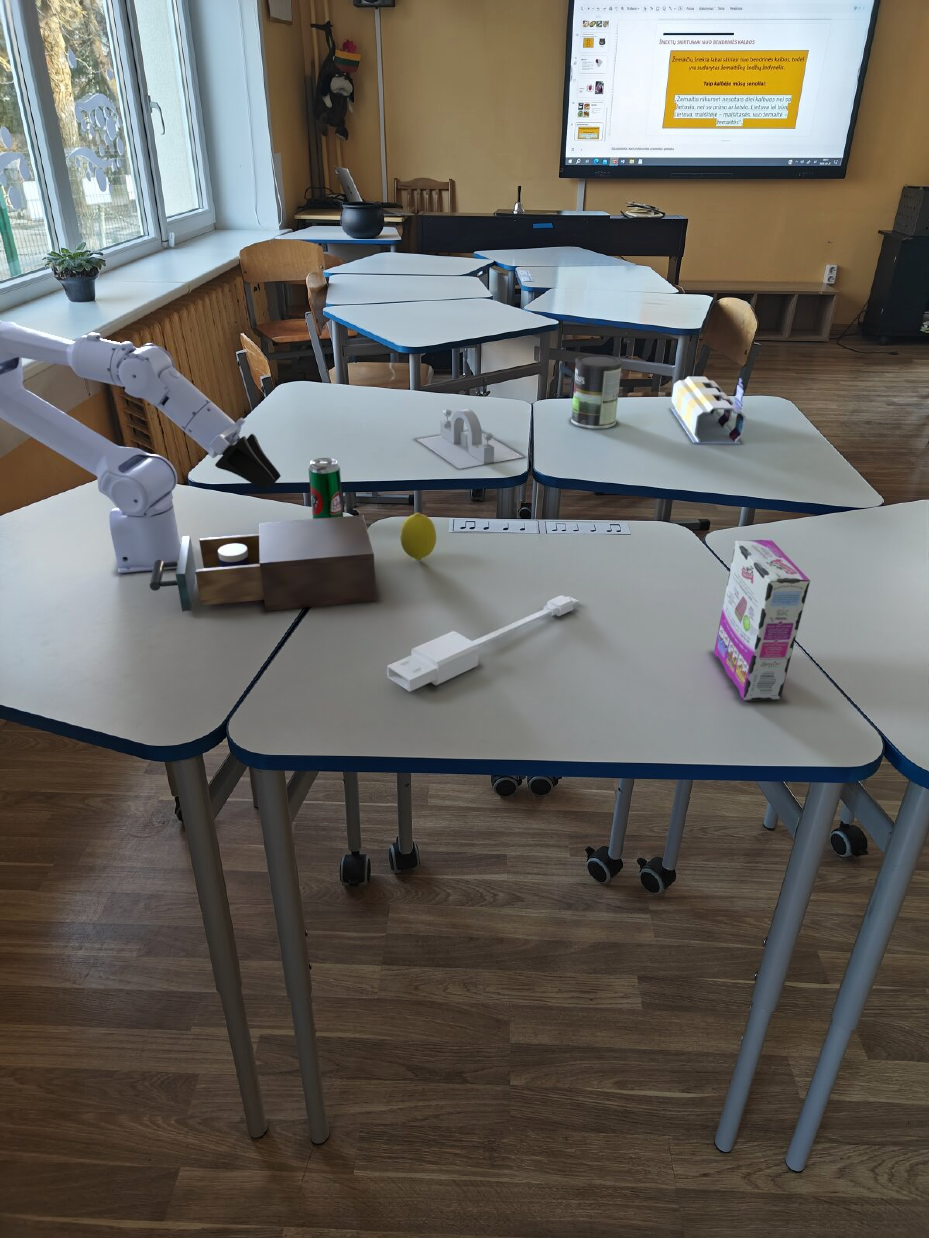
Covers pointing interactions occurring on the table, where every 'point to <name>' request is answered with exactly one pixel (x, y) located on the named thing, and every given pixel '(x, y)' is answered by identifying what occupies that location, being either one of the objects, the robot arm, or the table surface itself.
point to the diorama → (707, 411)
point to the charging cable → (458, 651)
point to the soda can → (325, 488)
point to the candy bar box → (760, 619)
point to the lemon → (418, 536)
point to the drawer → (213, 573)
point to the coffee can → (596, 391)
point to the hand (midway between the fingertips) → (273, 483)
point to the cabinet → (316, 562)
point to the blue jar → (233, 555)
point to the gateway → (467, 442)
